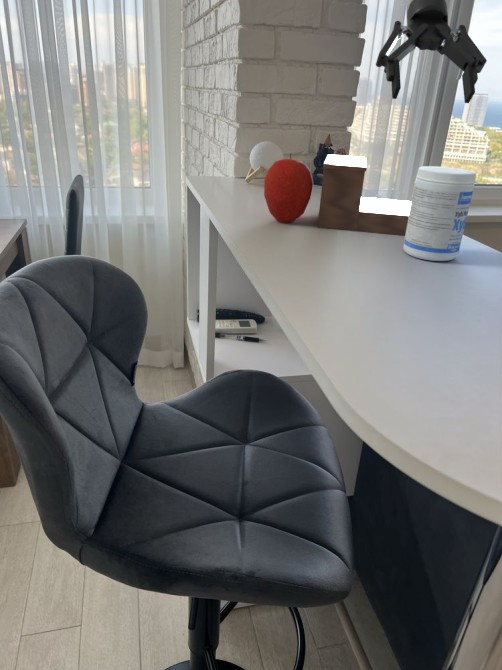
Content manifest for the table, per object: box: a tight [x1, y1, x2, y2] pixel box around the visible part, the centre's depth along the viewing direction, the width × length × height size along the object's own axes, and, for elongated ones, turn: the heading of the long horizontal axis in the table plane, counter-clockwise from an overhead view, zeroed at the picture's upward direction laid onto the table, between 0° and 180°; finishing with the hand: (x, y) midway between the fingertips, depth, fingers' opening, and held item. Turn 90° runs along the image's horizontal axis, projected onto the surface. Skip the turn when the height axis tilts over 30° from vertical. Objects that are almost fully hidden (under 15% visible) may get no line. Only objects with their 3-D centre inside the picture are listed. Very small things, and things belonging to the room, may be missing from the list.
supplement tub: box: [402, 165, 477, 262], centre depth 88 cm, size 10×10×15 cm
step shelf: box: [317, 154, 412, 237], centre depth 107 cm, size 21×16×13 cm
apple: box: [263, 152, 315, 224], centre depth 105 cm, size 10×10×14 cm
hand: (433, 95), depth 93 cm, fingers open, 13 cm apart
